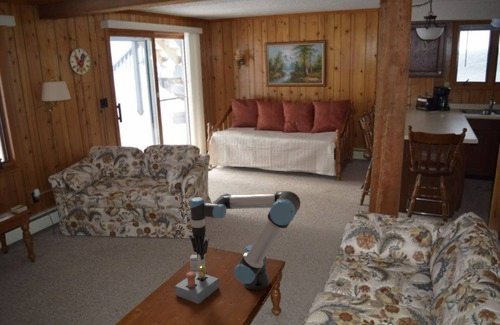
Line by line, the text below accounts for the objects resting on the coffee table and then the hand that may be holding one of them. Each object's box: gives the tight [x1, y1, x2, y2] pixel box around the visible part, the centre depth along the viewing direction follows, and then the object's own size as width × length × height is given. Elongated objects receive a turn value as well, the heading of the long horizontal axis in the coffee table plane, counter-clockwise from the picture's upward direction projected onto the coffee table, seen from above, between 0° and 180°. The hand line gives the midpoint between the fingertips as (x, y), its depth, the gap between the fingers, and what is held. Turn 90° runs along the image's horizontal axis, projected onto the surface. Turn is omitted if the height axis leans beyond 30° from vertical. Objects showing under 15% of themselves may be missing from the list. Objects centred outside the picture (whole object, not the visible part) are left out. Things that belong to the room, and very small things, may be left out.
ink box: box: [189, 254, 207, 274], centre depth 248 cm, size 9×5×12 cm, turn 84°
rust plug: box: [185, 271, 196, 289], centre depth 225 cm, size 5×5×9 cm
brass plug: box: [197, 264, 207, 282], centre depth 232 cm, size 5×5×9 cm
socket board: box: [174, 271, 220, 305], centre depth 230 cm, size 16×18×6 cm
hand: (201, 264), depth 230 cm, fingers closed
